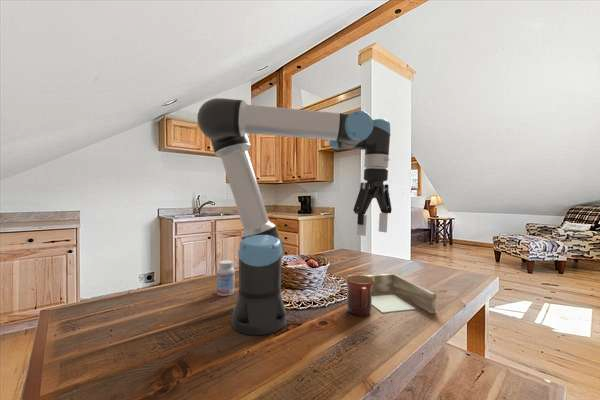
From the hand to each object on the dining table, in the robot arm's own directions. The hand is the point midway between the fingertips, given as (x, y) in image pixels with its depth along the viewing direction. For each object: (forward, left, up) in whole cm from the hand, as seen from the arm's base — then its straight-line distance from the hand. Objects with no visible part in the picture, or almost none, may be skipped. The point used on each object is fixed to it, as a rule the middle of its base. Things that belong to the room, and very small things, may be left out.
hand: (372, 233), depth 91 cm
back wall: (+15, -1, -23) cm, 28 cm away
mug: (-7, -7, -24) cm, 25 cm away
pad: (+6, -2, -23) cm, 24 cm away
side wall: (+8, +10, -23) cm, 26 cm away
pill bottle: (-46, +19, -24) cm, 55 cm away
